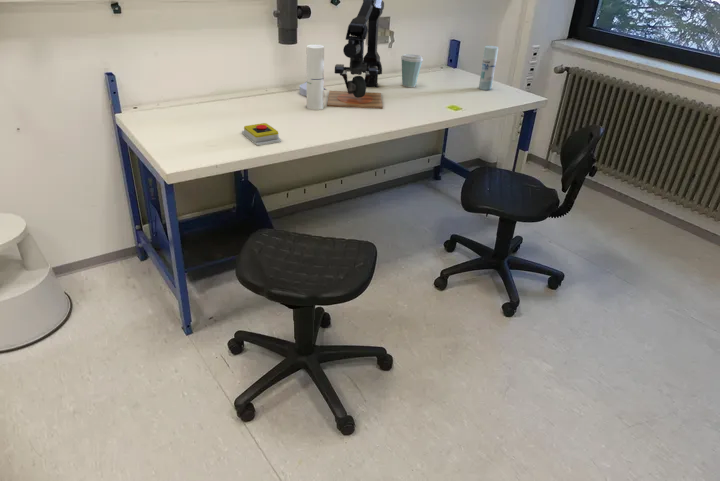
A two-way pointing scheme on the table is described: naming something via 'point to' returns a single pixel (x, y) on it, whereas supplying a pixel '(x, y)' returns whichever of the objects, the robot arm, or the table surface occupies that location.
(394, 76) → the table surface
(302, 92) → the wedge on round base
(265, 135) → the emergency button
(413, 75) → the disposable coffee cup
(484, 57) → the spray paint can
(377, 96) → the wooden board
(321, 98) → the cylindrical container
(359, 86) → the caster wheel
